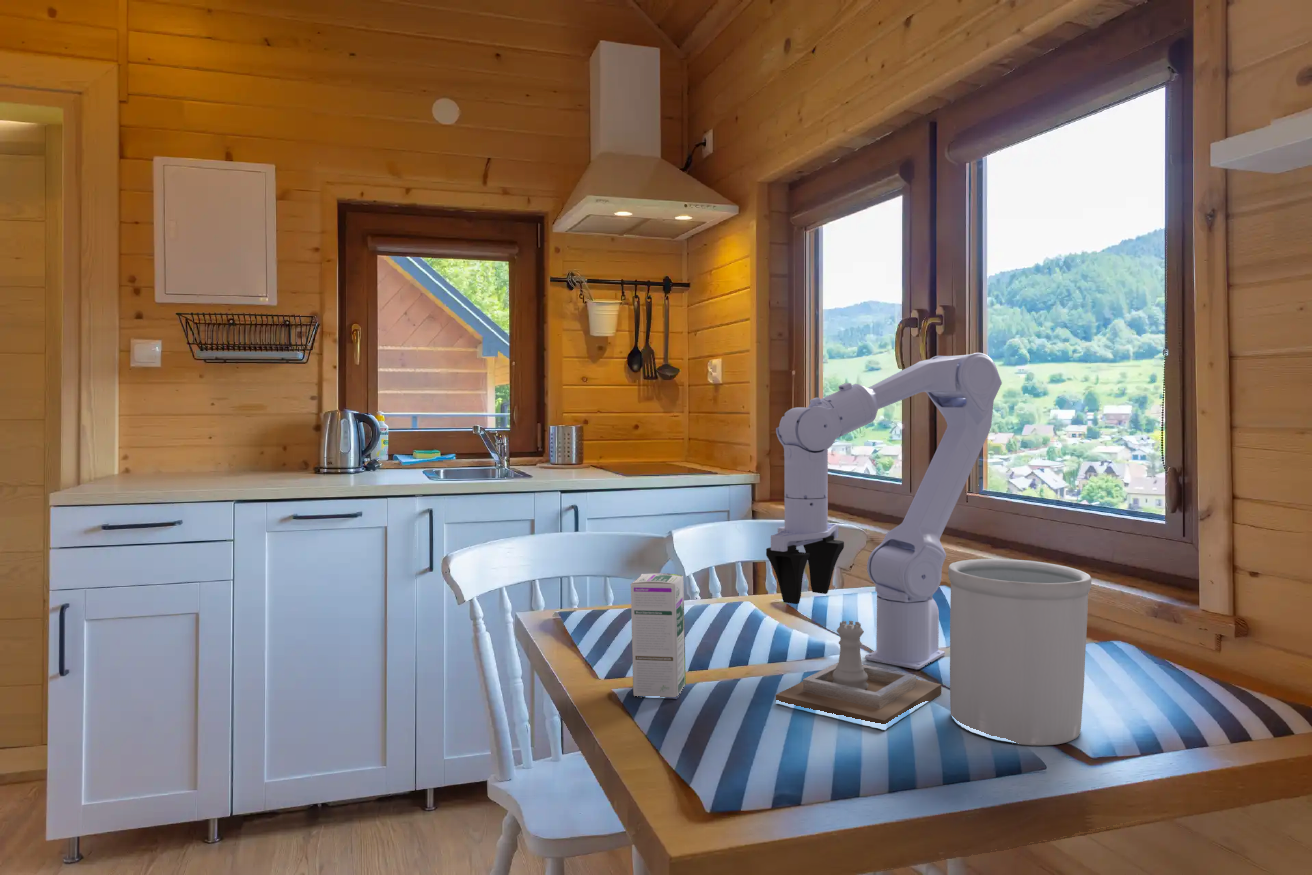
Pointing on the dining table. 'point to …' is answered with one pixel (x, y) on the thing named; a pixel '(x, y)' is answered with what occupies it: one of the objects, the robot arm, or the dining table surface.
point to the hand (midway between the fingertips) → (805, 597)
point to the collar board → (862, 694)
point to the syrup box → (658, 635)
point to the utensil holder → (1018, 648)
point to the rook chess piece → (850, 657)
